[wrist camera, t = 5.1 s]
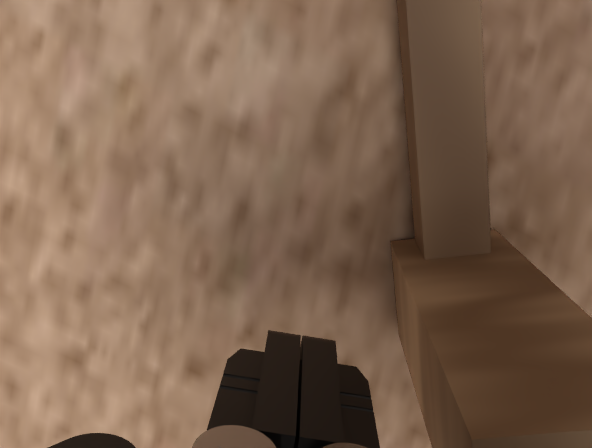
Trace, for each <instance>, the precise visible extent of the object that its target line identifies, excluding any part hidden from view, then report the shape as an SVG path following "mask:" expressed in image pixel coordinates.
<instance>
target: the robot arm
mask: <svg viewBox="0 0 592 448" xmlns="http://www.w3.org/2000/svg"><path fill="white" fill-rule="evenodd" d="M300 339H301V336H300V335H295V334H289V333H283V332H276V331H270V330H268V336H267V342H266V347H265V352H259V351H253V350H247V349H240V350H239V351H237V352H236V353H235V354H234V355H232V356H231V357H230V358H229V359H228V360H227V363H226V367H225V370H224V374H223V377H222V380H221V384H220V388H219V391H218V394H217V397H216V401H215V404H214V408H213V411H212V414H211V418H210V421H209V425H208V428H207V431H205V432H204V433H202V434H201V435H200V436H199V437H198V438H197V439H196V441H195V442H194V444H193V446H192V448H380V446H379V440H378V435H377V429H376V423H375V417H374V412H373V406H372V400H371V395H370V389H369V383H368V381H367V379H366V378H365V377H364V376H363V374H362V373H361V372H360V371H359V369H358V368H357V367H354V366H348V365H342V364H337V352H336V342H335V341H333V340H327V339H321V338H315V337H308V336H303V337H302V341H301V346H300ZM48 448H135V446H134V445H133V444H132V443H130V442H129V441H127V440H126V439H124V438H122V437H119V436H116V435H111V434H105V433H90V434H83V435H79V436H75V437H72V438H69V439H67V440H65V441H62V442H60V443H58V444H55V445H53V446H51V447H48Z"/></svg>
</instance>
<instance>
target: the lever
mask: <svg viewBox="0 0 592 448" xmlns="http://www.w3.org/2000/svg"><path fill="white" fill-rule="evenodd" d="M397 9H398V22H399V35H400V48H401V62H402V75H403V88H404V101H405V114H406V127H407V141H408V154H409V167H410V180H411V193H412V206H413V219H414V233H415V239H406V240H397V241H391V252H392V264H393V275H394V286H395V298H396V309H397V321H398V332H399V337H400V340H401V344H402V347H403V350H404V354H405V357H406V361H407V364H408V367H409V371H410V374H411V377H412V381H413V384H414V388H415V391H416V394H417V398H418V401H419V404H420V408H421V411H422V414H423V418H424V421H425V425H426V428H427V431H428V435H429V438H430V441H431V445H432V448H592V318H591V317H590V316H589V315H588V314H587V313H585V312H584V311H583V310H582V309H581V308H580V307H579V306H578V305H577V304H576V303H575V302H573V301H572V300H571V299H570V298H569V297H568V296H567V295H566V294H565V293H564V292H563V291H561V290H560V289H559V288H558V287H557V286H556V285H555V284H554V283H553V282H552V281H550V280H549V279H548V278H547V277H546V276H545V275H544V274H543V273H542V272H541V271H540V270H538V269H537V268H536V267H535V266H534V265H533V264H532V263H531V262H530V261H529V260H528V259H526V258H525V257H524V256H523V255H522V254H521V253H520V252H519V251H518V250H517V249H516V248H514V247H513V246H512V245H511V244H510V243H509V242H508V241H507V240H506V239H505V238H504V237H502V236H501V235H500V234H499V233H498V232H497V231H496V230H490V213H489V187H488V162H487V137H486V111H485V86H484V60H483V35H482V9H481V0H397Z"/></svg>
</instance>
